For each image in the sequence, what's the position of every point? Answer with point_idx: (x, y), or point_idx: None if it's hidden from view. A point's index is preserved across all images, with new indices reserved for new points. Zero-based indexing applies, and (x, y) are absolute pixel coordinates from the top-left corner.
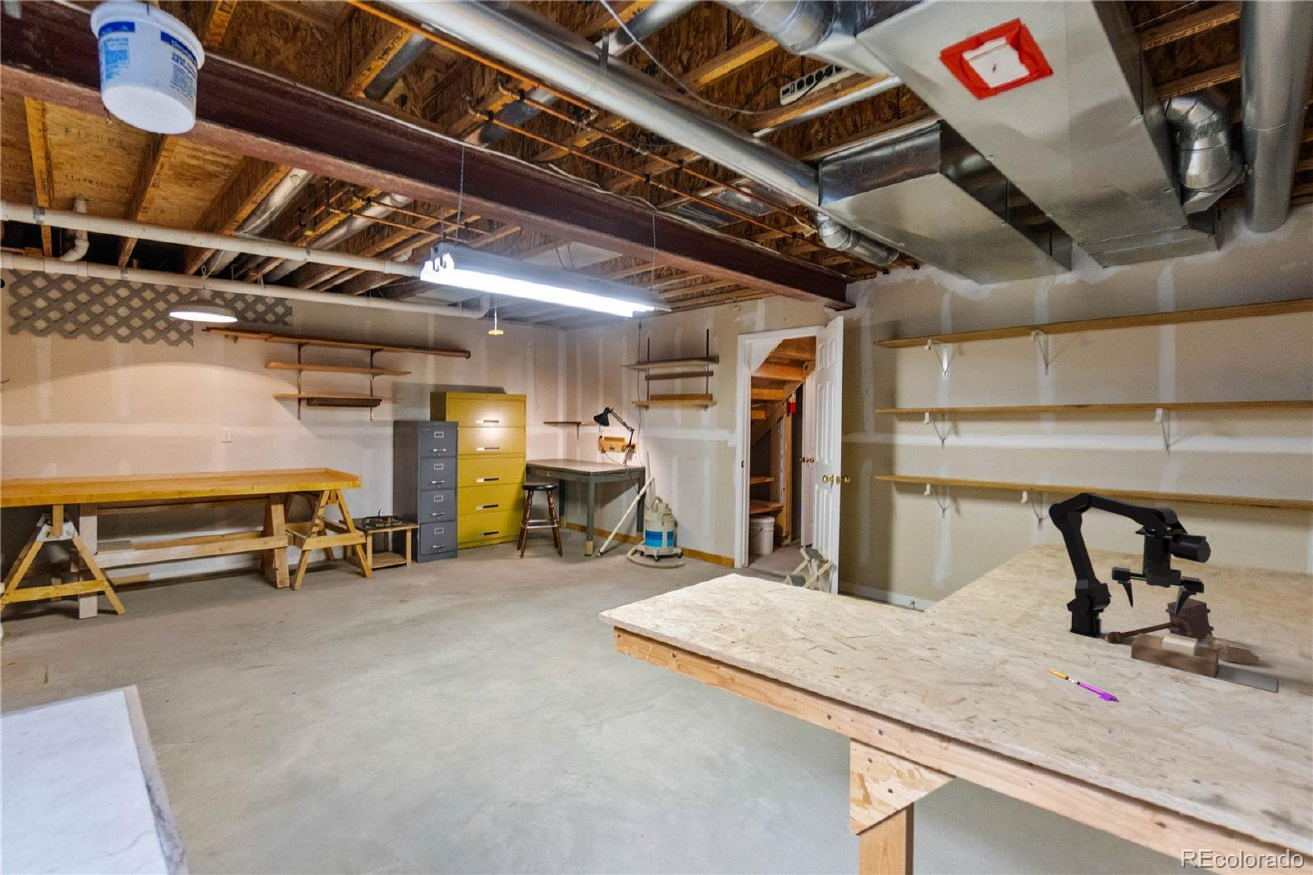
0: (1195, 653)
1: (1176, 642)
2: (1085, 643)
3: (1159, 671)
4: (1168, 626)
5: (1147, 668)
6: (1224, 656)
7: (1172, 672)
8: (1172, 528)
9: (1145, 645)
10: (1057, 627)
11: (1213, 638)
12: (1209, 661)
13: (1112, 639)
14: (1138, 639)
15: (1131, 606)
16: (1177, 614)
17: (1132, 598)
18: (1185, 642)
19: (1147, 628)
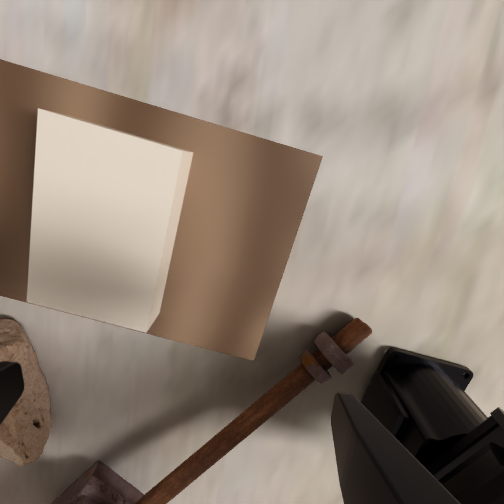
0: None
1: (115, 166)
2: (446, 255)
3: (229, 24)
4: (141, 500)
5: (270, 37)
6: (2, 326)
7: (181, 48)
8: None
9: (262, 156)
10: (496, 400)
11: (5, 432)
12: (5, 61)
13: (342, 330)
14: (277, 248)
15: (349, 395)
16: (3, 361)
17: (384, 472)
18: (74, 198)
19: (212, 454)
